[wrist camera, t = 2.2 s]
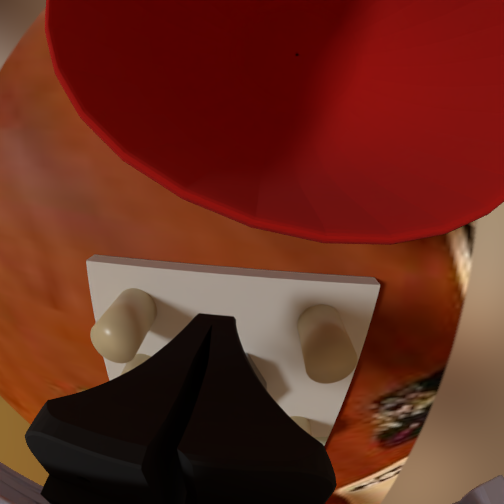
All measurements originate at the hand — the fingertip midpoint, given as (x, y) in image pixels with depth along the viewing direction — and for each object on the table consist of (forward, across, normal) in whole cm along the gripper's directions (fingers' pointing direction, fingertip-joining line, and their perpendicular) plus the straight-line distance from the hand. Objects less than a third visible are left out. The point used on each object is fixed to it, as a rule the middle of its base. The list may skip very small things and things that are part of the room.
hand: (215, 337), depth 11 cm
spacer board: (+6, 0, +10) cm, 11 cm away
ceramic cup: (+6, -2, -13) cm, 15 cm away
